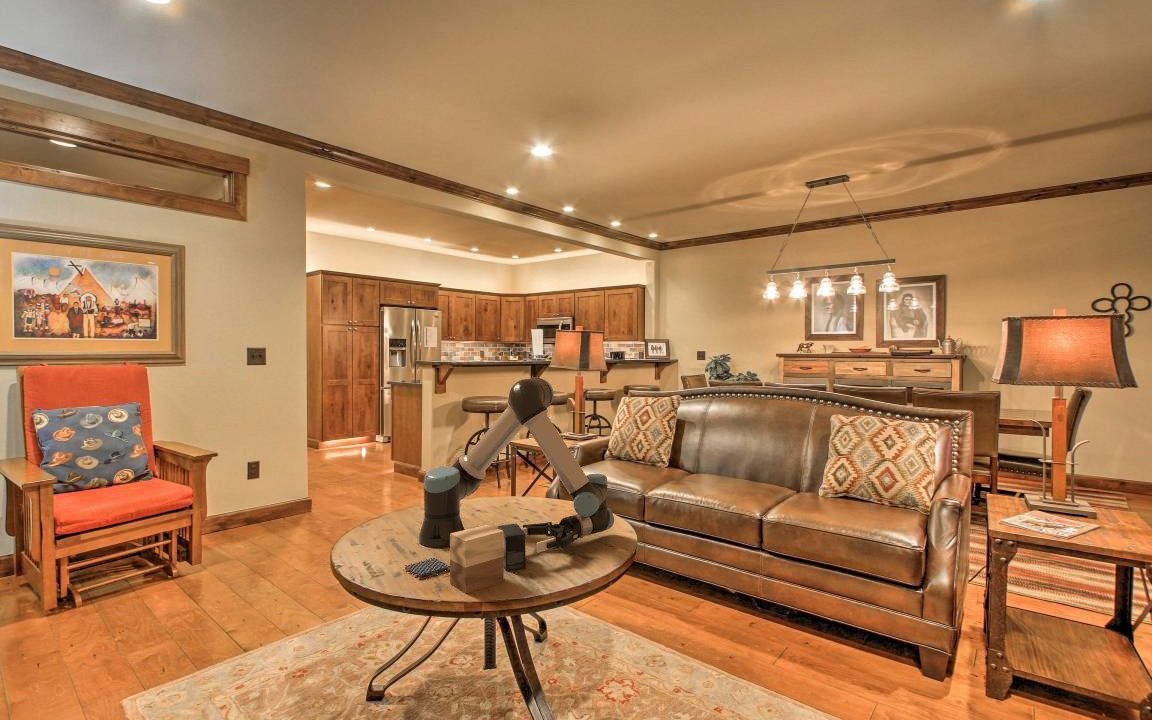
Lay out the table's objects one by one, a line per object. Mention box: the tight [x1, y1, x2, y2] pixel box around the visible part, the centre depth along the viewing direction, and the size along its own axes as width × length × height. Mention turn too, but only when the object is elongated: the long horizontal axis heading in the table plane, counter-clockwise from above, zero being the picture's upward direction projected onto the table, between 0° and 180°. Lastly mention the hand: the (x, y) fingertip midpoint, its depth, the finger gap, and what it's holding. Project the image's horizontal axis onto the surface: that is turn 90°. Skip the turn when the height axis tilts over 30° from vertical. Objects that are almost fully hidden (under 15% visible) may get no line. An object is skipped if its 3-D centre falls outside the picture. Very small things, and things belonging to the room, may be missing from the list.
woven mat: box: [404, 557, 450, 581], centre depth 162 cm, size 10×11×2 cm
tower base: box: [449, 556, 505, 595], centre depth 153 cm, size 8×12×7 cm, turn 132°
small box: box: [497, 523, 527, 572], centre depth 167 cm, size 11×6×10 cm, turn 21°
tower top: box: [449, 524, 504, 568], centre depth 153 cm, size 8×12×7 cm, turn 132°
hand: (522, 542), depth 169 cm, fingers open, 13 cm apart
